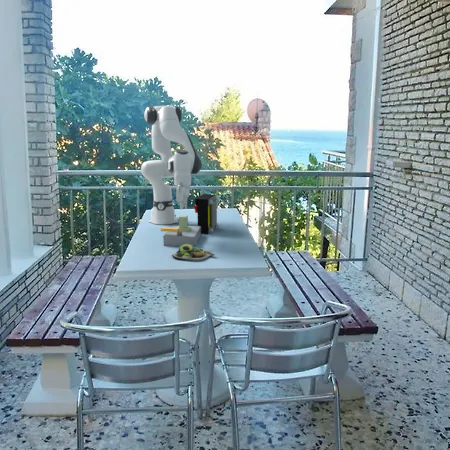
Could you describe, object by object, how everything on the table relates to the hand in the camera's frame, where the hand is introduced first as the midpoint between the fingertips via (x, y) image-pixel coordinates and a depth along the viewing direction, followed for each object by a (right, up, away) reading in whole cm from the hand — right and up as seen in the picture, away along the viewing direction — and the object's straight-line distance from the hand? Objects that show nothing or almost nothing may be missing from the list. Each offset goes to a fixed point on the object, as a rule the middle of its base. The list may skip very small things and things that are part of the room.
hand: (183, 207), depth 245 cm
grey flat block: (0, -17, +2) cm, 17 cm away
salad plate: (+6, -24, -27) cm, 37 cm away
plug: (0, -15, +4) cm, 15 cm away
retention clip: (-5, -14, -8) cm, 17 cm away
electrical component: (+12, -13, +24) cm, 29 cm away
